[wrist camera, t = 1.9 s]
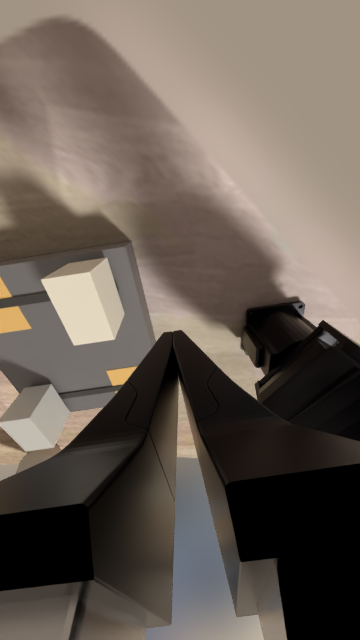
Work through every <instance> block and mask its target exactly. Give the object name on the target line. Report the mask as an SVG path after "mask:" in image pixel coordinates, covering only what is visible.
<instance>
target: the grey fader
mask: <svg viewBox="0 0 360 640" xmlns="http://www.w3.org/2000/svg"><path fill="white" fill-rule="evenodd" d="M69 415H70V411H69V410H68V408H67V407H66V405H65V404H64V402H63V401H62V399H61V398H60V396H59V395H58V393H57V392H56V390H55V389H54V387H53V386H52V384H48V385H41V386H34V387H27V388H24V389H23V390H22V391H21V393H20V394H19V395H18V397H17V398H16V399H15V400H14V402H13V403H12V404H11V406H10V407H9V408H8V409H7V411H6V412H5V413H4V414H3V416H2V417H1V418H0V426H1V427H2V428H3V429H4V430H5V431H6V432H7V433H8V434H9V435H10V436H11V437H12V438H13V439H14V440H15V441H16V442H17V443H18V444H19V445H20V446H21V447H22V448H23V449H24V450H25V451H26V452H27V451H34V450H41V449H48V448H54V447H55V445H56V443H57V440H58V438H59V436H60V434H61V432H62V430H63V428H64V425H65V423H66V421H67V419H68V417H69Z"/></svg>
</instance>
